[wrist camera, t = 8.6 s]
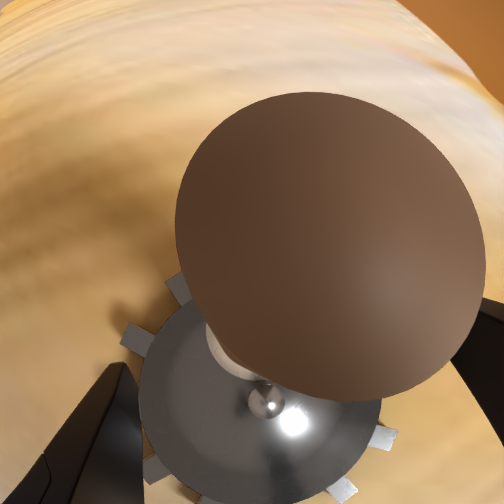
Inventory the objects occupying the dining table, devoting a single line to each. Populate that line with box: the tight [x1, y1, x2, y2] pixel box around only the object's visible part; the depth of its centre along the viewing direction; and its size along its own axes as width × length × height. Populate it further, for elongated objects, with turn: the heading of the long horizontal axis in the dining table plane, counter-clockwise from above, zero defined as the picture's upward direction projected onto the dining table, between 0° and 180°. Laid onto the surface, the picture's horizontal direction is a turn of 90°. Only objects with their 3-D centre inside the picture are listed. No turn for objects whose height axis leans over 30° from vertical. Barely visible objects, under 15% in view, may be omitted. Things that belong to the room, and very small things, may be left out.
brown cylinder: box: [175, 92, 486, 402], centre depth 9 cm, size 4×4×13 cm
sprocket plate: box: [120, 271, 398, 504], centre depth 15 cm, size 16×16×2 cm
